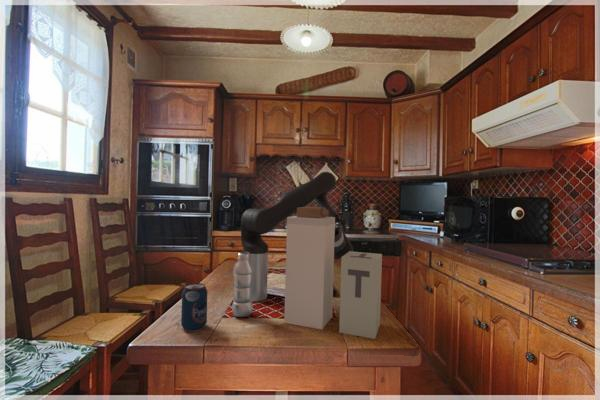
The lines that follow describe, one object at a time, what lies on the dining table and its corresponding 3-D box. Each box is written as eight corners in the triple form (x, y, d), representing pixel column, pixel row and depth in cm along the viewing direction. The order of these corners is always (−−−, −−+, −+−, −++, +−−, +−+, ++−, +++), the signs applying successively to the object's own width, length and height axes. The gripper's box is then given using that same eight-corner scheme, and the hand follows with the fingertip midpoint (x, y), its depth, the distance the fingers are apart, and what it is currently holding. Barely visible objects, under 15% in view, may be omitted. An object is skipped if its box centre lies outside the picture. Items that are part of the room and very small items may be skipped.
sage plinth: (347, 319, 102) (349, 251, 102) (379, 324, 99) (382, 253, 98) (339, 332, 92) (341, 256, 92) (375, 339, 88) (377, 260, 88)
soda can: (197, 334, 88) (198, 290, 88) (175, 330, 90) (176, 287, 90) (211, 324, 95) (212, 283, 95) (191, 321, 97) (192, 281, 97)
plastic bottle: (235, 321, 98) (237, 255, 98) (229, 313, 104) (230, 251, 104) (255, 317, 101) (257, 254, 101) (248, 310, 107) (250, 250, 107)
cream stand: (297, 311, 108) (300, 215, 108) (332, 316, 104) (335, 217, 104) (284, 322, 98) (287, 217, 98) (322, 329, 94) (325, 219, 93)
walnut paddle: (315, 214, 115) (315, 206, 115) (334, 215, 112) (334, 207, 112) (296, 217, 98) (296, 207, 98) (318, 218, 96) (319, 208, 96)
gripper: (316, 224, 130) (305, 204, 116) (352, 226, 125) (344, 205, 111) (313, 241, 126) (301, 223, 113) (349, 244, 121) (341, 225, 108)
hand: (323, 214), depth 112 cm, fingers open, 8 cm apart
